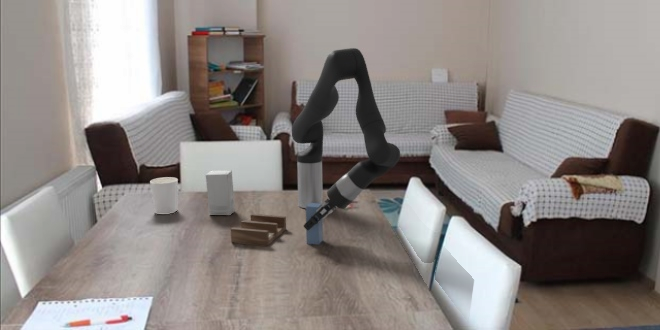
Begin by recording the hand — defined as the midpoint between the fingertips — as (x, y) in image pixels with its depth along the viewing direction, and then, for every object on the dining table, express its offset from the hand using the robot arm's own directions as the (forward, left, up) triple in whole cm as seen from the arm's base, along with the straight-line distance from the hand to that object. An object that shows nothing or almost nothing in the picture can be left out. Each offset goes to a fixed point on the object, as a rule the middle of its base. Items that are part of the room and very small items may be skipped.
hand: (309, 224), depth 183 cm
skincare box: (-20, -40, -6) cm, 45 cm away
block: (0, +2, -6) cm, 6 cm away
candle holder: (-17, -61, -6) cm, 64 cm away
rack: (-1, -17, -6) cm, 18 cm away
